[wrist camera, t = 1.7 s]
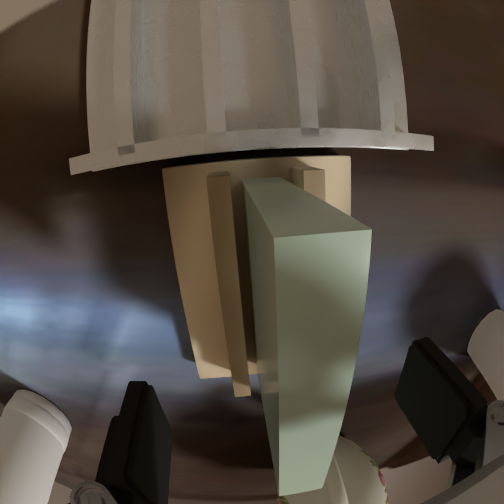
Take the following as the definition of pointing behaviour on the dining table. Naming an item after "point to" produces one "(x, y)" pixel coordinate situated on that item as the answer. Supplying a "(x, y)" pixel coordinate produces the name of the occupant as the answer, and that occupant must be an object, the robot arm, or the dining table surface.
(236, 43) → the rack
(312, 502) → the pitcher
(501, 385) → the foam cup
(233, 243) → the stand
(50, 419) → the bottle
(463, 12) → the dining table surface
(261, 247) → the sage green plank
